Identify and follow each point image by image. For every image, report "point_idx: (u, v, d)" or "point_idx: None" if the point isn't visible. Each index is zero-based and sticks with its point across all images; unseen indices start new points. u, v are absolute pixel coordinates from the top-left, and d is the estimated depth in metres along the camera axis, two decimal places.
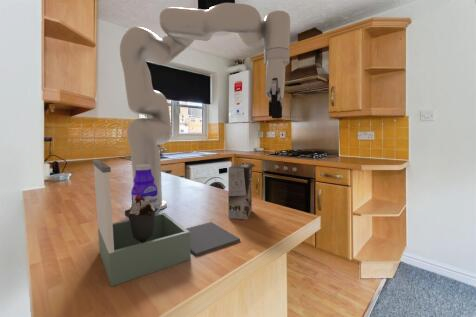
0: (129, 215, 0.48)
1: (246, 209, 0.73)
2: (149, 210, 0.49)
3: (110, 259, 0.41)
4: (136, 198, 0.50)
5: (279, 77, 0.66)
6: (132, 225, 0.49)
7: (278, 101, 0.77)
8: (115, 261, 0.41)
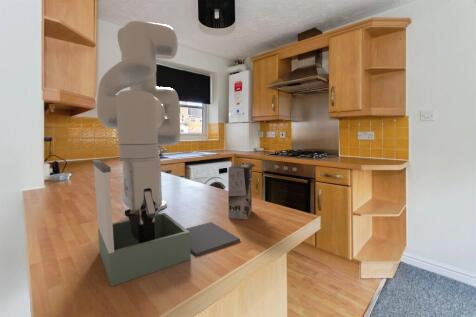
0: (129, 215, 0.48)
1: (246, 209, 0.73)
2: None
3: (110, 259, 0.41)
4: None
5: (153, 186, 0.47)
6: (132, 225, 0.49)
7: None
8: (115, 261, 0.41)
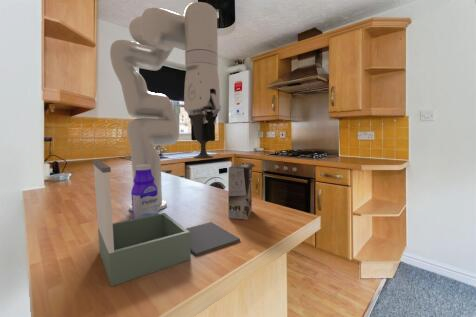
0: (194, 115, 0.55)
1: (246, 209, 0.73)
2: None
3: (110, 259, 0.41)
4: None
5: (217, 89, 0.54)
6: (196, 126, 0.56)
7: None
8: (115, 261, 0.41)
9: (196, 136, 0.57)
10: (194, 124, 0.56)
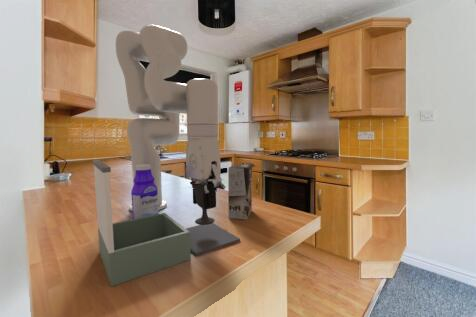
0: (196, 184, 0.56)
1: (246, 209, 0.73)
2: None
3: (110, 259, 0.41)
4: None
5: (218, 160, 0.55)
6: (197, 193, 0.57)
7: None
8: (115, 261, 0.41)
9: (198, 203, 0.58)
10: (196, 191, 0.58)
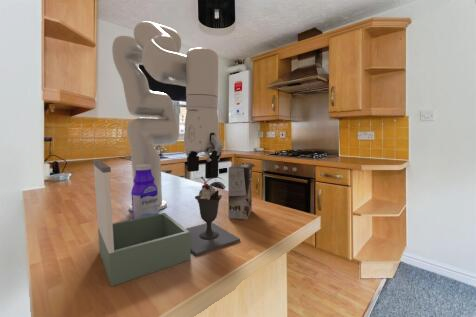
0: (202, 200, 0.57)
1: (246, 209, 0.73)
2: (217, 196, 0.58)
3: (110, 259, 0.41)
4: (205, 186, 0.58)
5: (216, 132, 0.55)
6: (203, 208, 0.58)
7: (193, 150, 0.63)
8: (115, 261, 0.41)
9: (203, 217, 0.58)
10: (201, 206, 0.58)
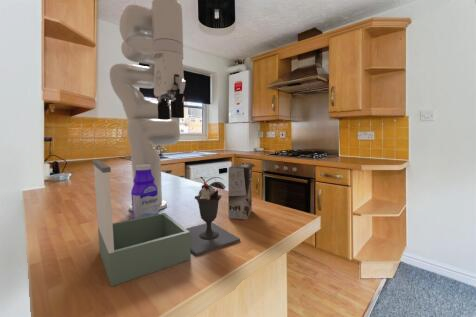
0: (201, 200, 0.57)
1: (246, 209, 0.73)
2: (216, 195, 0.58)
3: (110, 259, 0.41)
4: (205, 186, 0.58)
5: (181, 74, 0.59)
6: (202, 208, 0.58)
7: (164, 100, 0.67)
8: (115, 261, 0.41)
9: (202, 217, 0.58)
10: (201, 206, 0.58)
